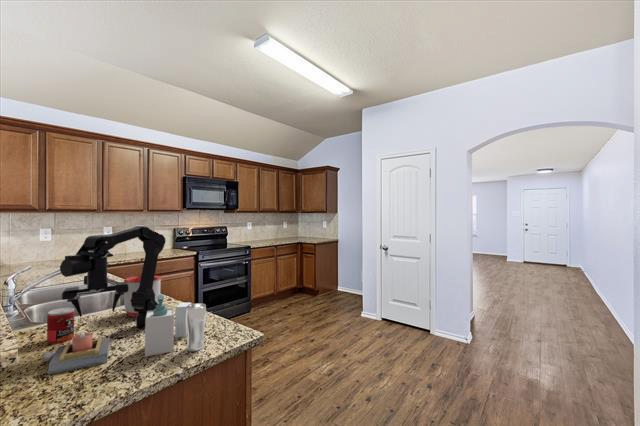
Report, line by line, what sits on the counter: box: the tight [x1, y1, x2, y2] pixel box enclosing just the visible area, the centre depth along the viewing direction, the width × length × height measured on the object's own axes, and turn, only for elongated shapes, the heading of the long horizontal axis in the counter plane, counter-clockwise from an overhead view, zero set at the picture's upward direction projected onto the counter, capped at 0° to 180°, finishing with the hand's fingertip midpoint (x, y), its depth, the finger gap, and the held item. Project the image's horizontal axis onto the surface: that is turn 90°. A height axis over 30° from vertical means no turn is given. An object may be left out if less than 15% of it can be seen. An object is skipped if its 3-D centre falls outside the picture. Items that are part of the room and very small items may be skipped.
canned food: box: [46, 307, 76, 345], centre depth 110 cm, size 8×8×11 cm
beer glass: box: [185, 302, 207, 352], centre depth 105 cm, size 7×7×15 cm
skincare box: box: [174, 301, 192, 338], centre depth 117 cm, size 6×4×12 cm
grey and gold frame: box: [42, 336, 111, 375], centre depth 95 cm, size 17×14×4 cm
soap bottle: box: [144, 293, 175, 357], centre depth 104 cm, size 9×9×19 cm
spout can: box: [72, 332, 93, 352], centre depth 96 cm, size 5×5×9 cm
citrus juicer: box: [123, 272, 162, 318], centre depth 141 cm, size 16×17×20 cm
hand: (97, 313), depth 105 cm, fingers open, 9 cm apart
